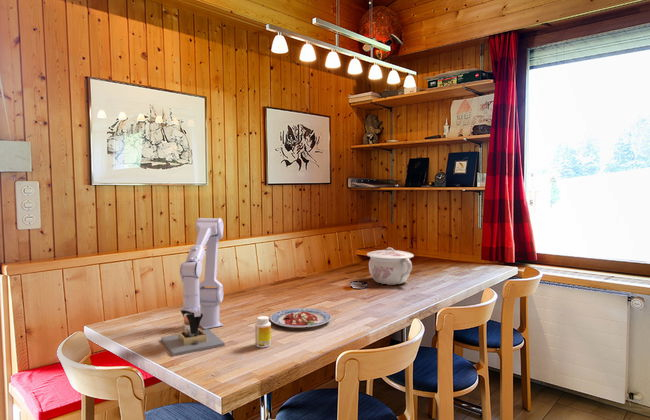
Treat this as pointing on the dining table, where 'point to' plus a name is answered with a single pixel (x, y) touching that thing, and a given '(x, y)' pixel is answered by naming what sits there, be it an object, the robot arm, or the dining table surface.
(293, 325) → the ceramic plate
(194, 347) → the socket base
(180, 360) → the dining table surface
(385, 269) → the chamber pot
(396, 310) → the dining table surface
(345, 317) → the dining table surface
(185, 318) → the silver tin
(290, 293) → the dining table surface
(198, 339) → the square hollow frame
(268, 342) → the supplement bottle
